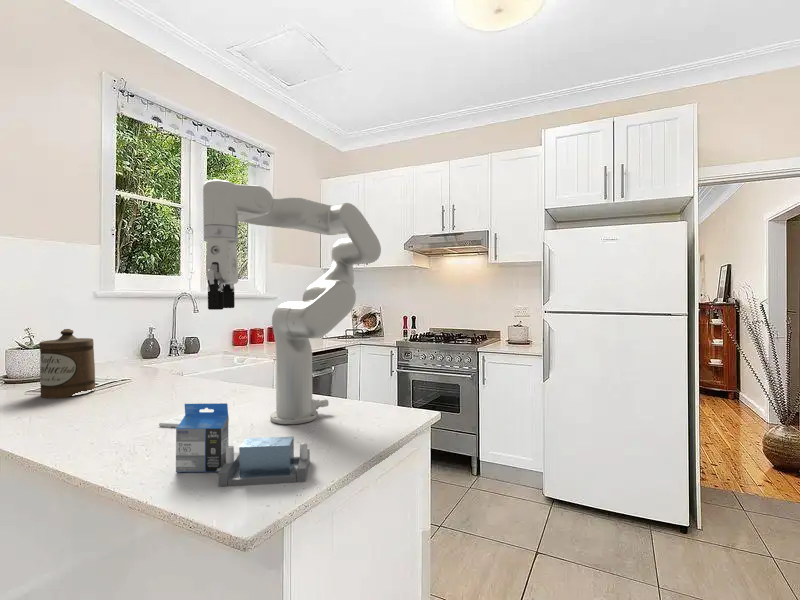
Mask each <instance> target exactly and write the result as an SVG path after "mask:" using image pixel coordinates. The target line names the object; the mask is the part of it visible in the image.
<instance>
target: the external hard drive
mask: <svg viewBox="0 0 800 600" xmlns="http://www.w3.org/2000/svg"><path fill="white" fill-rule="evenodd" d="M199 412H214V410H205V409H201V410H199ZM184 416H185V412H184V413H181V414H179V415H177V416H175V417H171V418H170V419H167V420H164V421H162V422H159V423H158V426H168V427H167V428H175V427H178V425H179V424H180V423H181V421H182V419H183V418H184Z"/></svg>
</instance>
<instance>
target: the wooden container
mask: <svg viewBox="0 0 800 600" xmlns="http://www.w3.org/2000/svg"><path fill="white" fill-rule="evenodd" d="M74 333H75V332H74V330H73V329H71V328H65V329H62V330H61V331H60V335H61V336H60V337H59V338H57V339H51V340H43V341H40V342H39V352H40V354H39V357H40V362H39V363H40V365H39V367H40V368H39V370H40V371H39V381H40V382H39V383H40V397H41V398H44V399H64V398H63V397H66V398H70V397H69V396H72V395H73V394H75V393H78V392H81V391H87V390H92V389H94V388H95V389H96V366H95V365H96V364H95V353H94V352H95V350H94V346H95V345H94V339H93V338H89V337H88V338H87V337H82V338H81V337H80V338H79V337H76V336H74V335H73V334H74Z"/></svg>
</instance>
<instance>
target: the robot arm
mask: <svg viewBox="0 0 800 600" xmlns="http://www.w3.org/2000/svg"><path fill="white" fill-rule="evenodd" d="M202 191H203V192H202V206H203V209H202V211H203V214H202V215H203V242H206V252H205V253H206V258H205V259H206V261H205V266H206V267H205V270H206V271H205V272H206V273H205V275H206V281H207V284H208V285H207V309H208V310H209V311H211V310H212V311H213V310H214V311H215V310H217V311H218V310H219V311H220V310H224V309H234V308H235V286H234V285H235V284H237V283H238V282H239V268H238V267H239V266H238V253H237V245H236V244H237V243H239V222H240V223H245V224H249V225H254V226H255V225H256V226H263V227H272V228H273V227H274V228H280V229H281V228H282V229H288V230H289V229H291V230H292V229H293V230H299V231H304V232H309V233H314V234H315V233H316V234H320V235H326V236H337V235H345V234H347V235H348V236H347V237H343V238H340V239H337V241H336V242H335V243H334V244H333V246H332V247H331V265H330V268H329V269H328V270H327V271H326V272H325V273H324V274H322V275H321V276H320V277H318V278H317V280H315V281H314V282H313V283H311V284H309V286H308V287H306V289H305V291H304V292H303V295H302V300H293V301H292V300H291V301H290V300H289V301H284V302H283V303H281V304H279V305H277V307H275V309H274V311H273V314H272V315H271V324H272V325H271V326H272V332H273V335H274V337H273V338H274V343H275V399H276V400H275V403H276V404H275V405H276V406H275V407H276V408H275V409H276V411H274V412H272V413H271V414H270V417H269V419H270V421H271V422H272V423H275V424H279V425H300V424H305V423H310V422H312V421H314V420H316V419H318V417H319V412H318V409H319V408H325V407H329V404H330V403H329V400H328V398H327V399H326V398H325V399H321V400H320V399H319V398H318V399H314V398H313V349H312V344H311V342H310V339H320V338H322V337H324V336H326V335H327V334H328V333H330V332H331V331H332V330H333V329H334V328H336V326H338V324H339V323H341V322H342V321H343V320H344V319H345V318H346V317H347V316H348V315H349V314H350V313H351V312H352V310H353V309H354V307H355V304H356V300H357V293H356V290H355V288H354V283H355V275H354V265H364V264H365V265H366V264H372V263H375V262H377V260H379V258H380V256H381V253H382V246H381V243H380V240H379V238H378V237H377V235H376V233H375V231H374V230H373V229H372V227H371V226H370V224H369V222H368V220H367V219H366V217H365V216H364V215H363V213H362V212H361V210H360V209H358V208H357V206H355V205H354V204H353V203H349V202H344V203H337V204H333V205H330V204H324V203H321V202H318V201H313V200H310V199H307V198H303V197H283V198H280V197H279V198H273V195H272V194H271V192H270V191H269V190H268V189H267V188H265V187H263V186H261V185H255V184H238V183H233V182H231V181H228V180H222V179H212V180H211V179H210V180H207V181H205V182H204V184H203V188H202Z"/></svg>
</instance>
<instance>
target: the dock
mask: <svg viewBox="0 0 800 600" xmlns="http://www.w3.org/2000/svg"><path fill="white" fill-rule="evenodd" d="M234 448H235V447H234V446H233V445H228V446H227V447H226V463H225V464H224V465H223V467H222V468H221V470H220V471H219V472H217V473H218V474H217V475H218V477H217V479H218V483H217V484H218V486H217V487H227V486H228V487H229V486H231V487H233V486H234V487H235V486H250V485H251V486H252V485H267V484H270V485H271V484H283V483H299V482H300V483H301V482H303V483H304V482H307V481H306V480H307V476H308V472H309V466H310V462H311V458H310V457H311V456H310V455H311V453H310V452H311V451H310V450H311V449H309V448H308V442H300V443H299V456H294V464H297V466H296V474H291V475H281V476H263V477H245V478H240V477H234V476H235V474H236V473H237V471H238V469H239V468H240V466H239V452H235V451H234V450H235V449H234ZM238 467H239V468H238ZM236 470H237V471H236ZM235 472H236V473H235ZM233 475H234V476H233Z"/></svg>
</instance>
